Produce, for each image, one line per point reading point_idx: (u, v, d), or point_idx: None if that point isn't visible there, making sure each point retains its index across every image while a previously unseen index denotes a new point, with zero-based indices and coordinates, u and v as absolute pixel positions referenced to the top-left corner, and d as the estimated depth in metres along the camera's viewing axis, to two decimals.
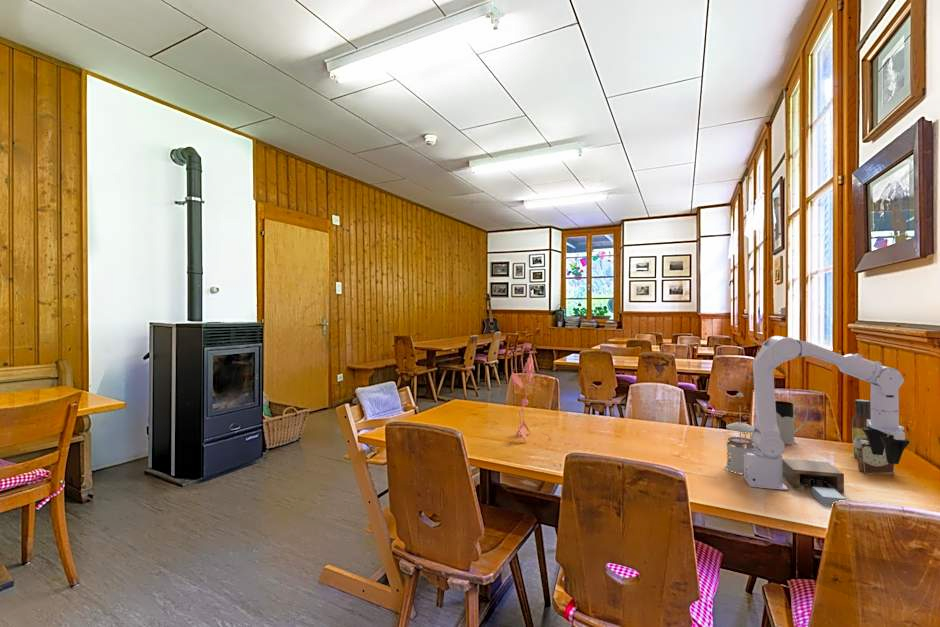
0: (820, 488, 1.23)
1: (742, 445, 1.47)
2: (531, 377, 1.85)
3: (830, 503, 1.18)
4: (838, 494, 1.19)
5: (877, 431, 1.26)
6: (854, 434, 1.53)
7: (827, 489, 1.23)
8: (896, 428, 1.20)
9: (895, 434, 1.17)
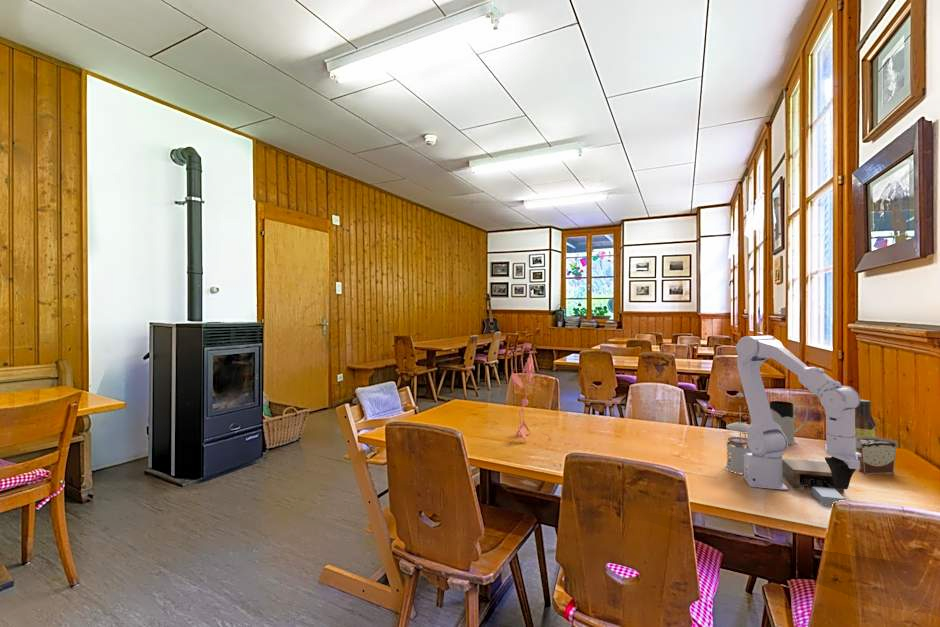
0: (820, 488, 1.23)
1: (742, 445, 1.47)
2: (531, 377, 1.85)
3: (829, 503, 1.18)
4: (838, 494, 1.19)
5: None
6: None
7: (827, 489, 1.23)
8: (852, 455, 1.11)
9: (850, 462, 1.07)
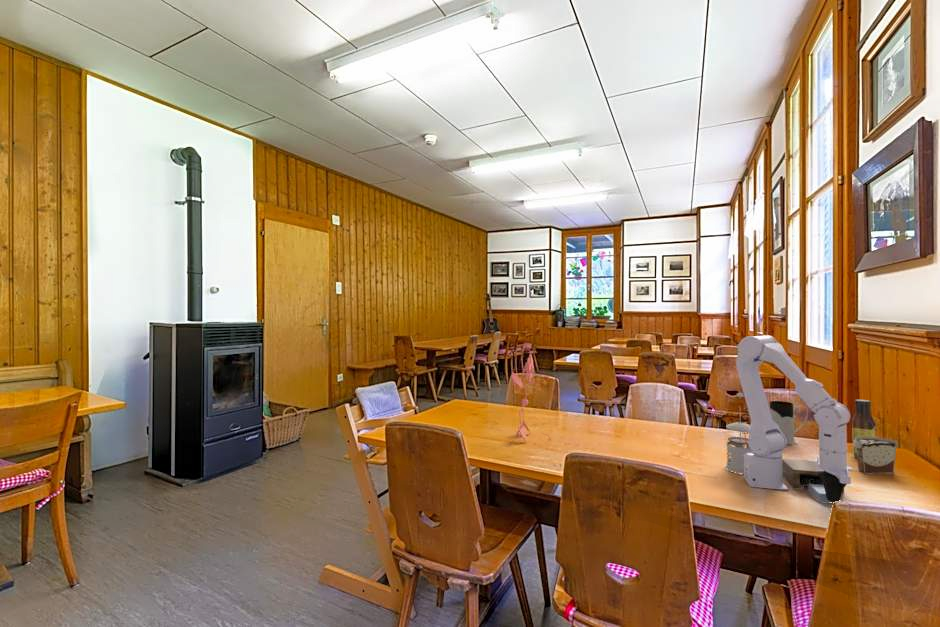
0: (816, 485, 1.25)
1: (742, 445, 1.47)
2: (531, 377, 1.85)
3: (826, 500, 1.19)
4: None
5: None
6: (854, 434, 1.53)
7: (823, 486, 1.24)
8: (843, 470, 1.15)
9: (841, 477, 1.11)
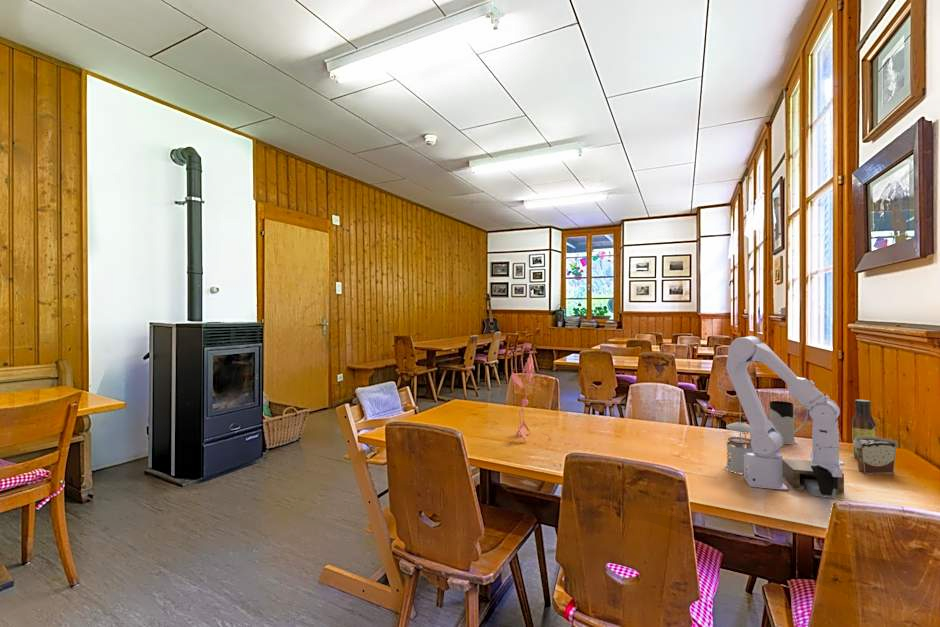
0: (811, 480, 1.29)
1: (742, 445, 1.47)
2: (531, 377, 1.85)
3: (820, 494, 1.23)
4: None
5: None
6: (854, 434, 1.53)
7: None
8: (836, 464, 1.19)
9: (833, 471, 1.16)
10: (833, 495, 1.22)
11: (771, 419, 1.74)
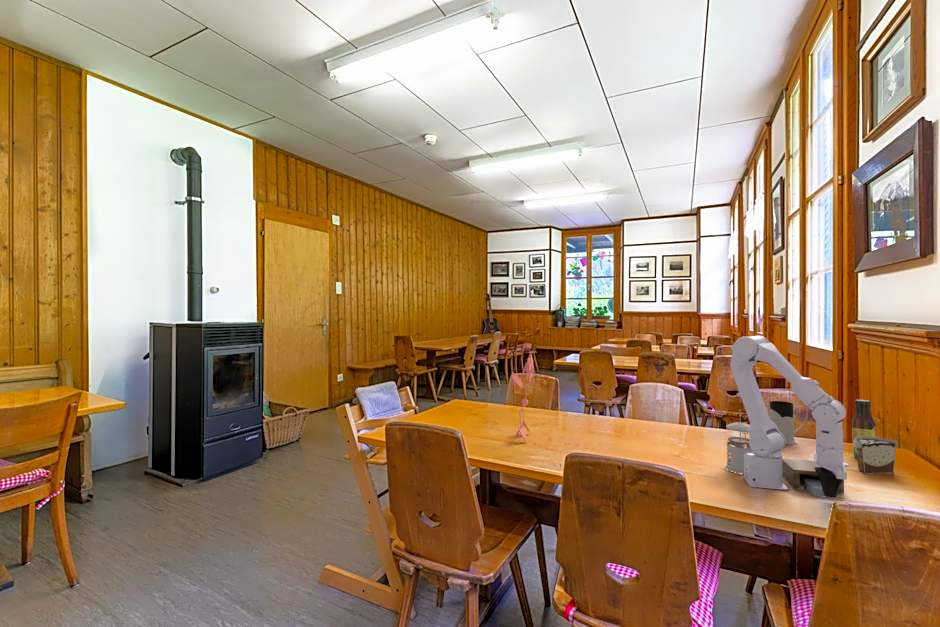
0: (811, 480, 1.29)
1: (742, 445, 1.47)
2: (531, 377, 1.85)
3: (820, 494, 1.23)
4: None
5: None
6: (854, 434, 1.53)
7: (818, 481, 1.28)
8: (840, 466, 1.17)
9: (837, 473, 1.13)
10: None
11: (771, 419, 1.74)
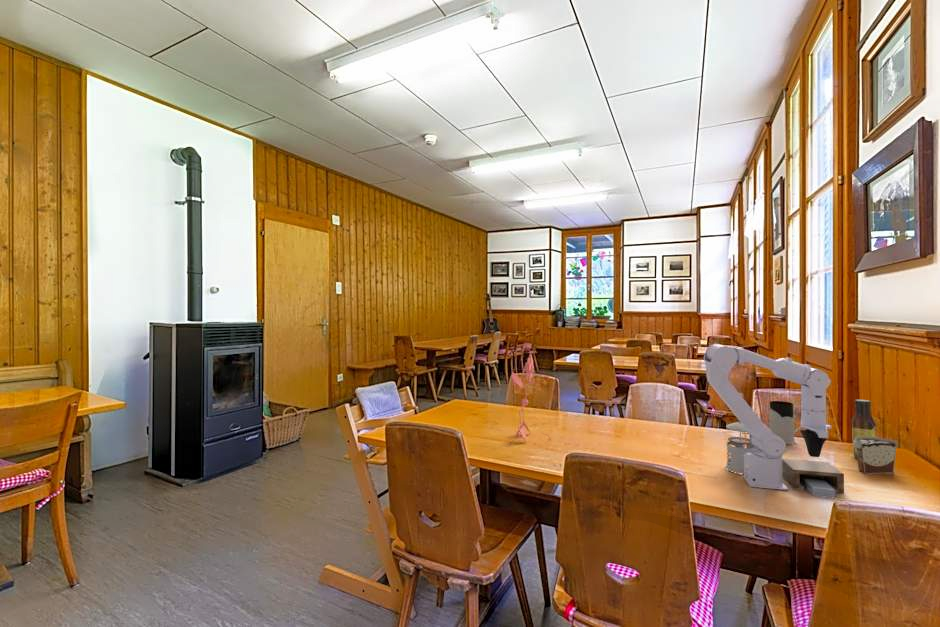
0: (812, 480, 1.29)
1: (742, 445, 1.47)
2: (531, 377, 1.85)
3: (820, 494, 1.23)
4: (828, 486, 1.25)
5: None
6: (854, 434, 1.53)
7: (818, 481, 1.28)
8: (823, 427, 1.26)
9: (819, 432, 1.23)
10: (833, 495, 1.22)
11: (771, 419, 1.74)
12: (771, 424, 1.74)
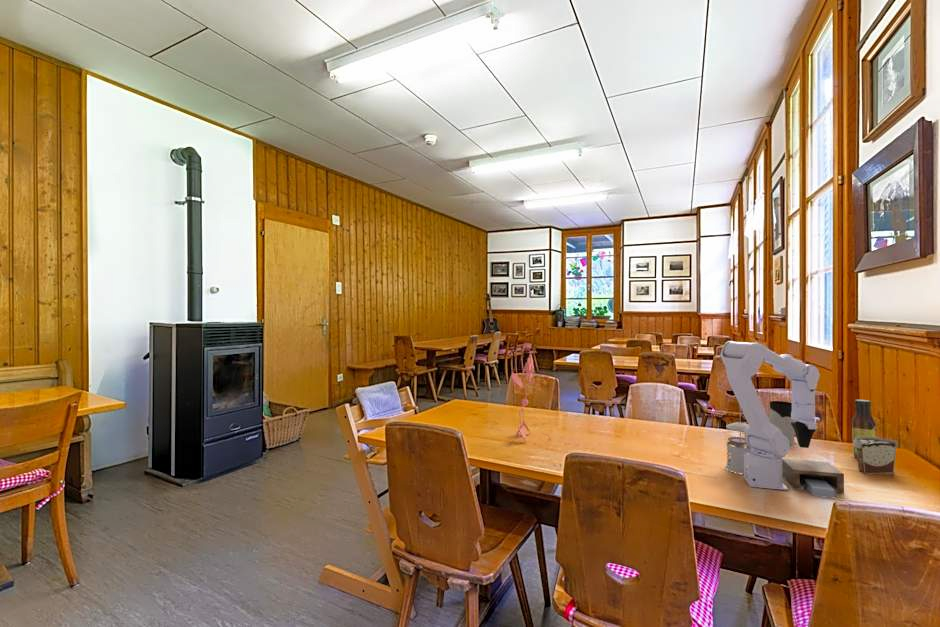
0: (812, 480, 1.29)
1: (742, 445, 1.47)
2: (531, 377, 1.85)
3: (819, 494, 1.24)
4: (828, 486, 1.25)
5: None
6: (854, 434, 1.53)
7: (819, 481, 1.28)
8: (812, 419, 1.34)
9: (809, 424, 1.30)
10: (832, 495, 1.22)
11: (771, 419, 1.74)
12: None
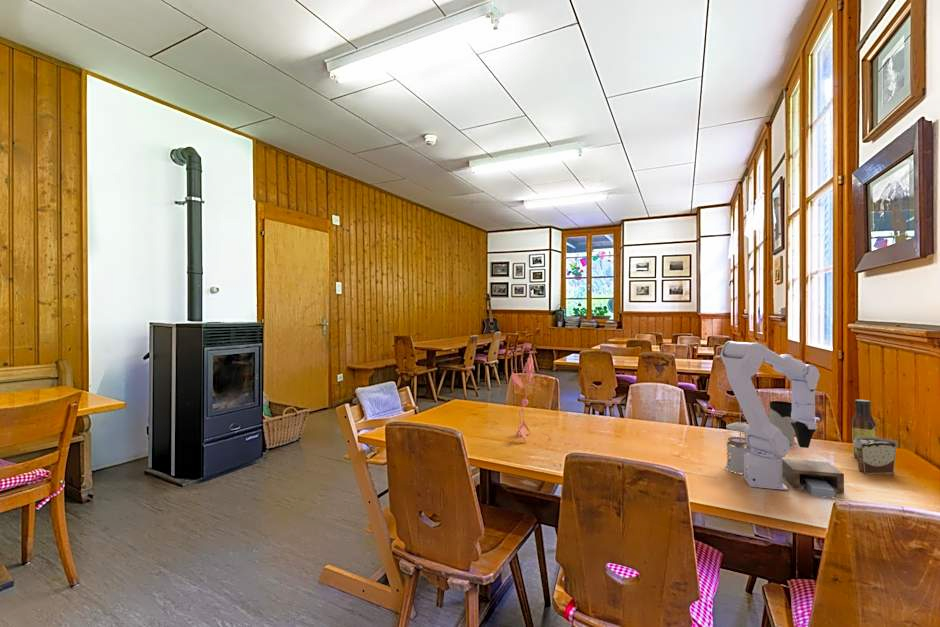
0: (812, 480, 1.29)
1: (742, 445, 1.47)
2: (531, 377, 1.85)
3: (819, 494, 1.24)
4: (828, 486, 1.25)
5: None
6: (854, 434, 1.53)
7: (819, 481, 1.28)
8: (812, 419, 1.34)
9: (809, 424, 1.30)
10: (832, 495, 1.22)
11: (771, 419, 1.74)
12: None
